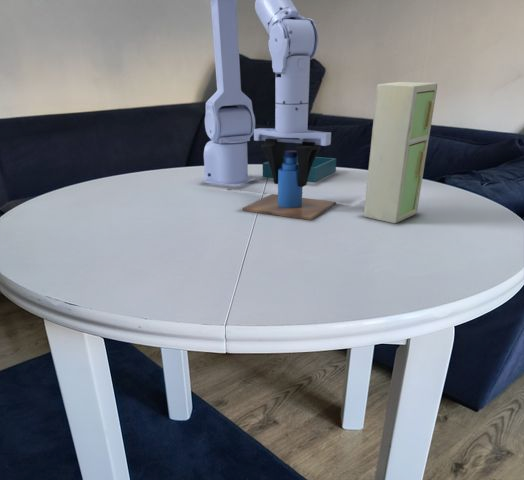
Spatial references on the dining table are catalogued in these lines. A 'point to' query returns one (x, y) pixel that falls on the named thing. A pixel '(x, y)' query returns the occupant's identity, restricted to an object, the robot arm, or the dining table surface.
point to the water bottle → (289, 182)
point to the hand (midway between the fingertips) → (290, 184)
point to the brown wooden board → (305, 211)
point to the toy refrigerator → (398, 149)
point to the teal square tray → (317, 171)
